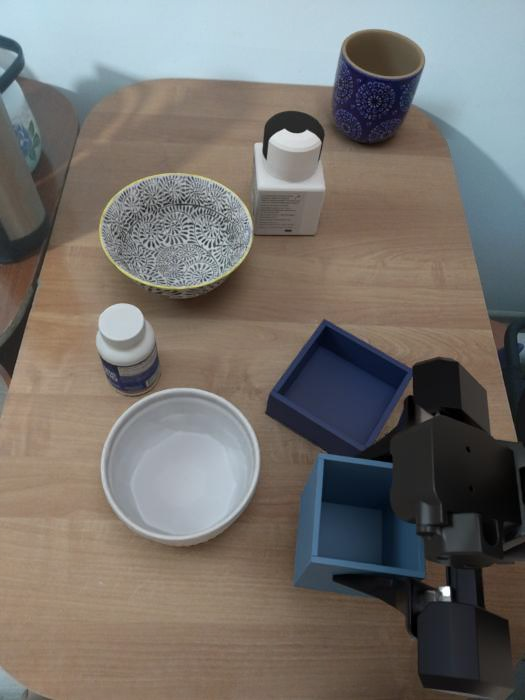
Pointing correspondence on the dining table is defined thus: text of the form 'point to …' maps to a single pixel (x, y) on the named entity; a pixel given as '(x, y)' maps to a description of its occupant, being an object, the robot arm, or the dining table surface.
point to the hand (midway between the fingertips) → (338, 522)
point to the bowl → (176, 233)
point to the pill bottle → (127, 349)
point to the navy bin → (338, 391)
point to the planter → (375, 84)
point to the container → (288, 176)
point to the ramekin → (180, 466)
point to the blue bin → (352, 527)
